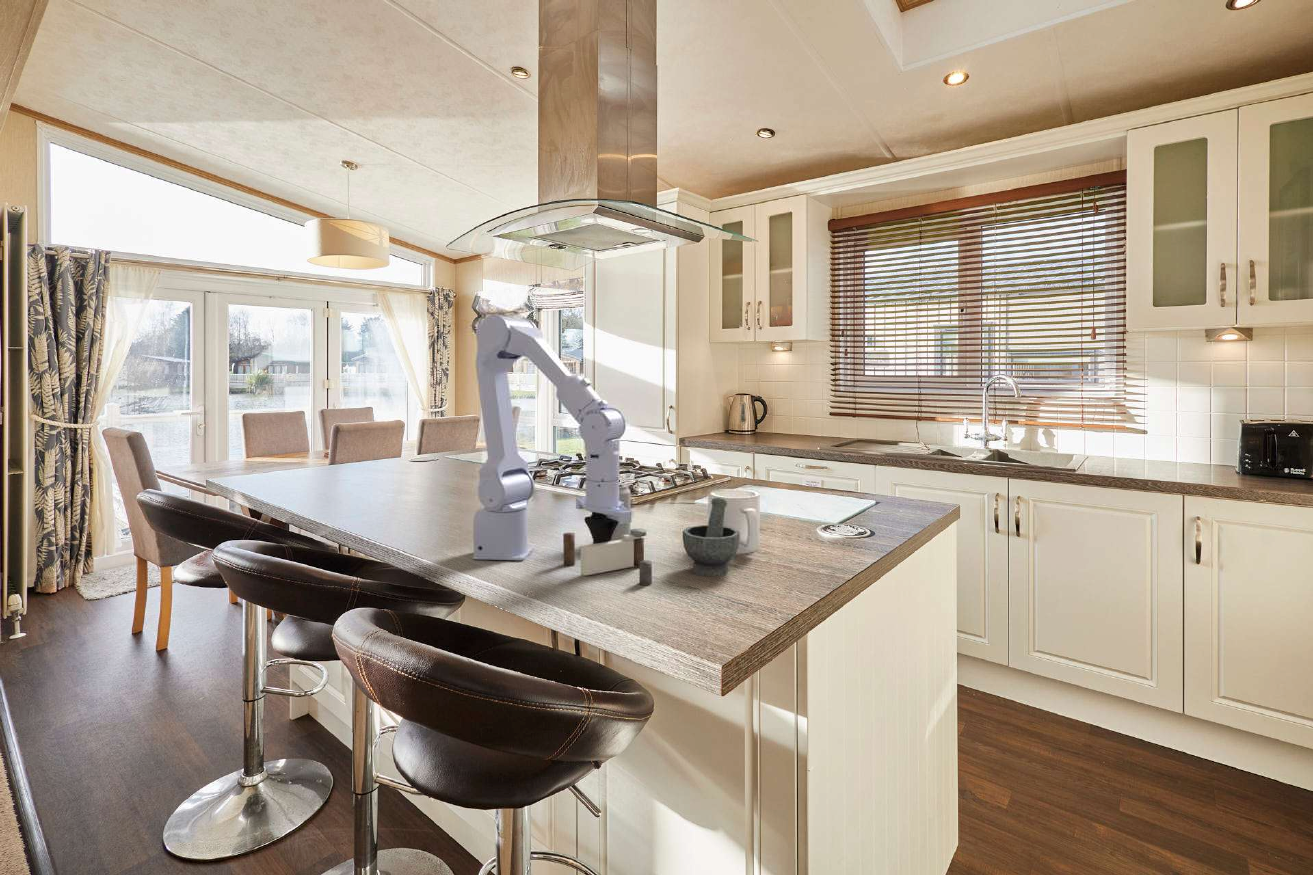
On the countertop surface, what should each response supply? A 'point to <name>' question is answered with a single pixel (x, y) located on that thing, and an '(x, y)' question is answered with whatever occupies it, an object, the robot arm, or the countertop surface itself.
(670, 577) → the countertop surface
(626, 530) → the beverage can
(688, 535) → the mortar and pestle
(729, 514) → the mug
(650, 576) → the posts
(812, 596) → the countertop surface
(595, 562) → the gate
